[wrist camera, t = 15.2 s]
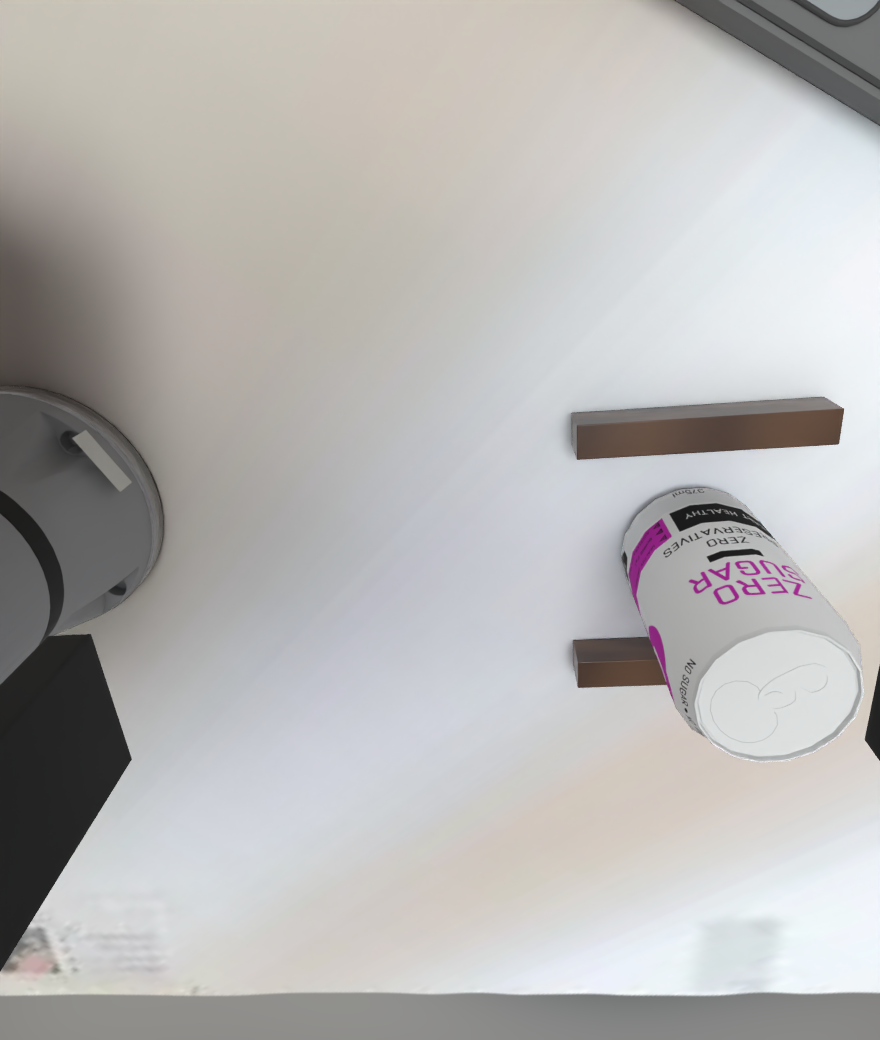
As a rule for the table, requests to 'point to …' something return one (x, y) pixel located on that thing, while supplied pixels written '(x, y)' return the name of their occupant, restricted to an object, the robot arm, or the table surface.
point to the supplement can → (740, 629)
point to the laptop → (811, 41)
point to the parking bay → (681, 435)
